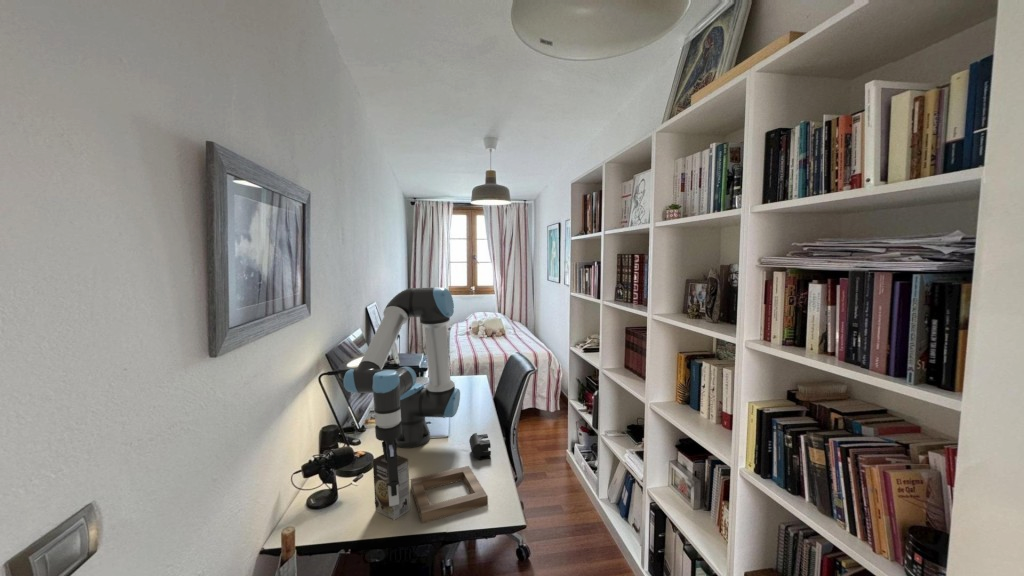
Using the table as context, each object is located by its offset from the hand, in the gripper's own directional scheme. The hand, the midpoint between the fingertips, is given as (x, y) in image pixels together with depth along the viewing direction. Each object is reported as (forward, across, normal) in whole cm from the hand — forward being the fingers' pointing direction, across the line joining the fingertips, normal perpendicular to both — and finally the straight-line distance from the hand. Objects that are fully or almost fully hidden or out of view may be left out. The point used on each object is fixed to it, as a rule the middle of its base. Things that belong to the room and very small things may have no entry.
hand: (392, 494), depth 123 cm
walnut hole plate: (+5, 0, +17) cm, 18 cm away
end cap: (+5, -22, +35) cm, 42 cm away
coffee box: (+5, 0, 0) cm, 5 cm away
